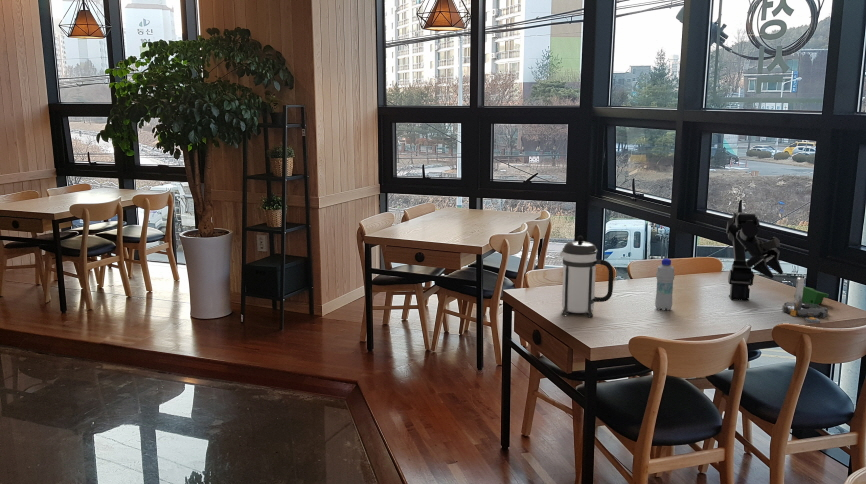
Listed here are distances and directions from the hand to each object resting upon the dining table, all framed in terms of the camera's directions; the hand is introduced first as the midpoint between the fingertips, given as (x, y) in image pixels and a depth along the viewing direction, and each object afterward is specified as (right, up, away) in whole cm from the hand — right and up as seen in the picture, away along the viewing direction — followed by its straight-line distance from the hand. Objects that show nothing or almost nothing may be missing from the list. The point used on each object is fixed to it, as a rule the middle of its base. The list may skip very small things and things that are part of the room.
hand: (777, 275), depth 270 cm
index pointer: (+7, -16, -11) cm, 21 cm away
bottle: (-42, -13, +5) cm, 44 cm away
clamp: (+19, -12, +13) cm, 26 cm away
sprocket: (+10, -14, -1) cm, 17 cm away
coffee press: (-74, -14, +1) cm, 76 cm away
